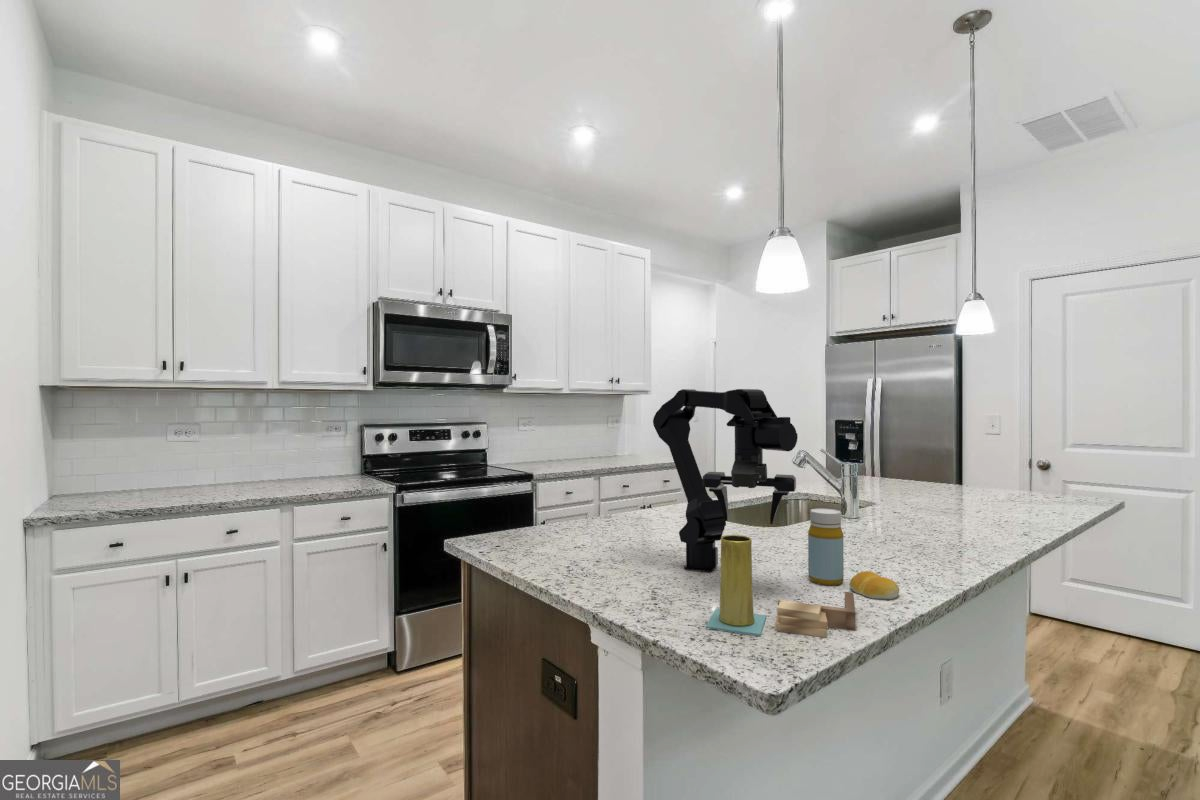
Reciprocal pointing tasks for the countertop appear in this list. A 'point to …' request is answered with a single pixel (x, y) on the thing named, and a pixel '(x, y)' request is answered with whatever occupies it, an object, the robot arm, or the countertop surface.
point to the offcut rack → (814, 617)
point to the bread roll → (874, 586)
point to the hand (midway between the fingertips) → (748, 522)
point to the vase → (736, 581)
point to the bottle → (825, 547)
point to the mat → (751, 629)
